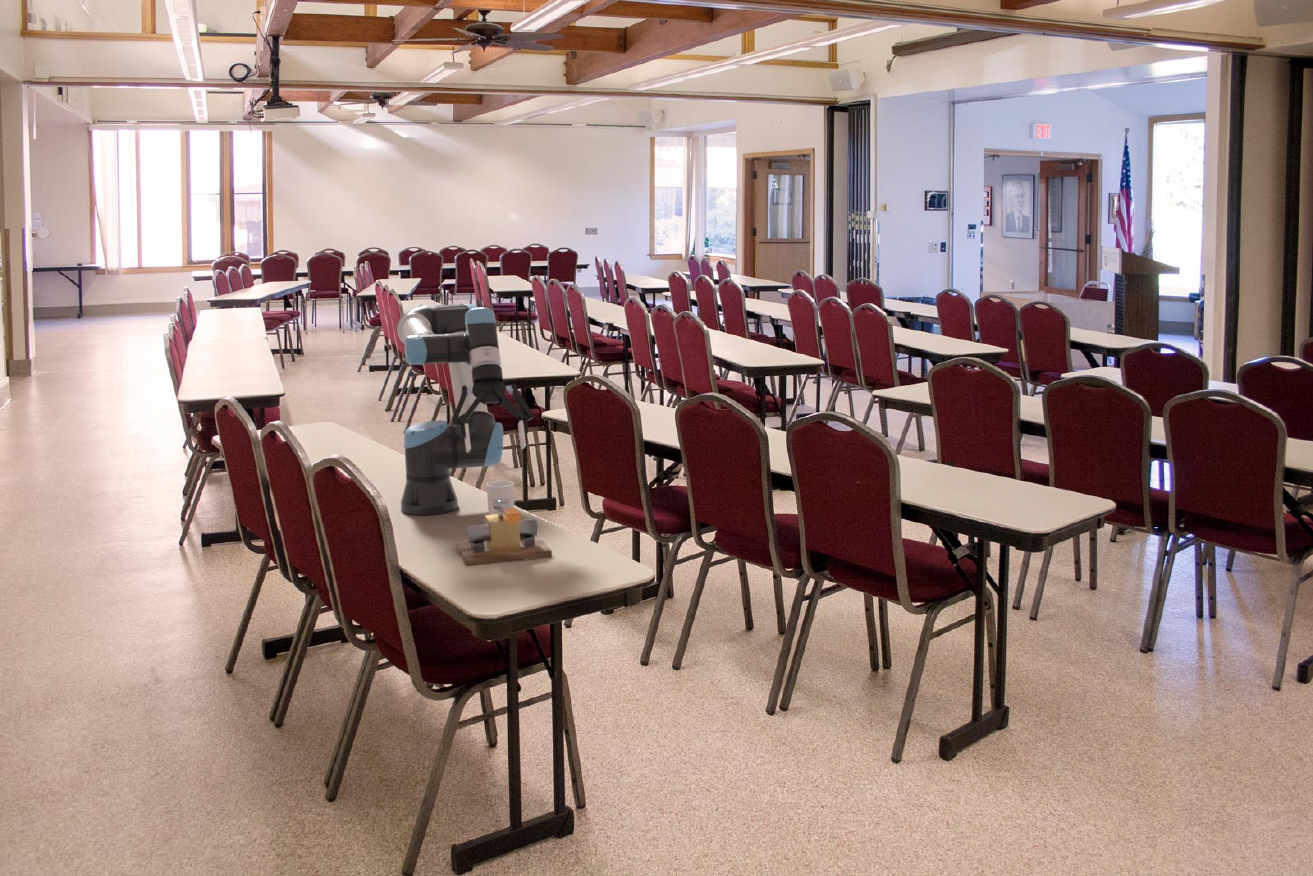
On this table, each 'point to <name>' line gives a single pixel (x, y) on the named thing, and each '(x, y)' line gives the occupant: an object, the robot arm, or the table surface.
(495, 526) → the valve body
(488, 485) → the mug
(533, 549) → the base board
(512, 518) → the valve lever
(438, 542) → the table surface
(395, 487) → the table surface
